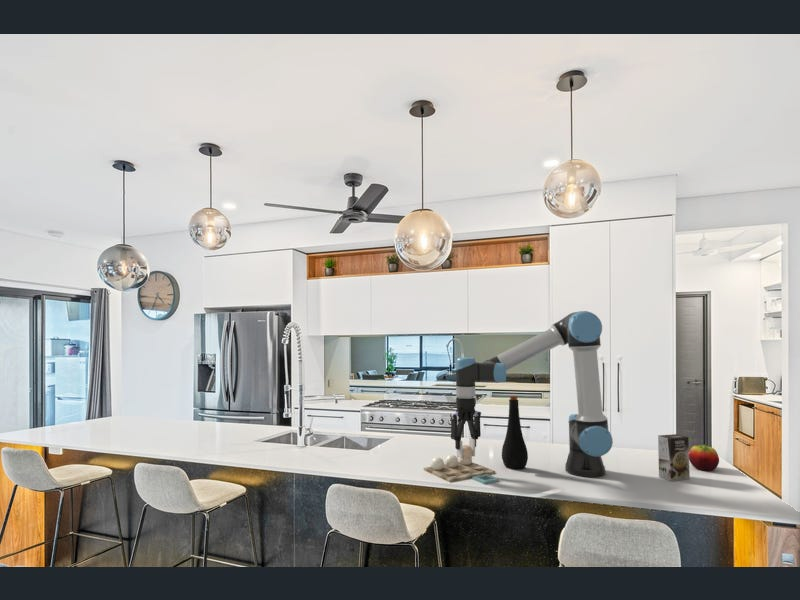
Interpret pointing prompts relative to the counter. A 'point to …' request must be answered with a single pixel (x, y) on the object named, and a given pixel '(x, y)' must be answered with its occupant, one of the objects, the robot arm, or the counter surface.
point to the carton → (460, 472)
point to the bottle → (514, 439)
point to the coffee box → (673, 457)
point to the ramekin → (481, 477)
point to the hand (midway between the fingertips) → (466, 456)
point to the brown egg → (467, 452)
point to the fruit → (703, 457)
